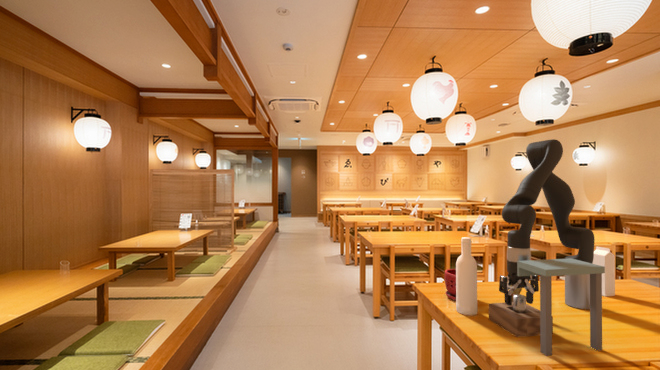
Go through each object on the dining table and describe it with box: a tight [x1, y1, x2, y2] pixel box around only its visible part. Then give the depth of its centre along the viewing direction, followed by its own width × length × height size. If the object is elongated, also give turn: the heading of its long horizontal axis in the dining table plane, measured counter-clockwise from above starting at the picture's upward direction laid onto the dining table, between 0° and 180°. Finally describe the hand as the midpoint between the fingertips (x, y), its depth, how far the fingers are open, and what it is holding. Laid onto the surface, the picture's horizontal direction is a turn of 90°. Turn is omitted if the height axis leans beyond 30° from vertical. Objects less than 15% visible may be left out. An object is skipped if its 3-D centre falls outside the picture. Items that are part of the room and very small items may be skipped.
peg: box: [513, 293, 527, 314], centre depth 111 cm, size 4×4×10 cm
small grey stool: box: [517, 258, 605, 357], centre depth 98 cm, size 21×11×26 cm, turn 99°
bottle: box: [455, 236, 478, 316], centre depth 124 cm, size 8×8×30 cm
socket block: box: [488, 302, 554, 338], centre depth 111 cm, size 14×14×6 cm
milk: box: [592, 246, 616, 297], centre depth 144 cm, size 6×6×22 cm
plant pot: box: [444, 268, 456, 302], centre depth 139 cm, size 13×13×12 cm
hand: (518, 303), depth 111 cm, fingers open, 8 cm apart
